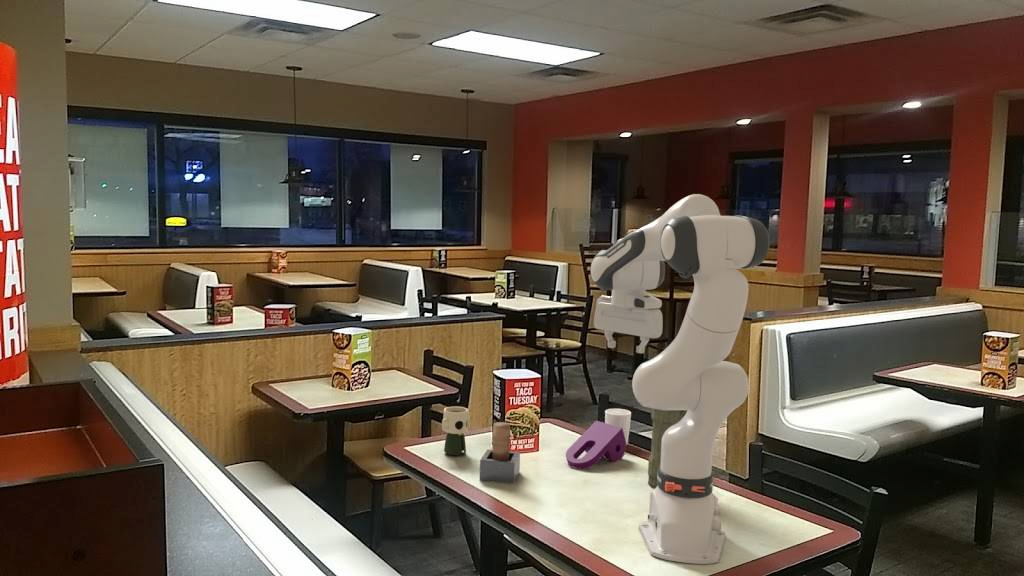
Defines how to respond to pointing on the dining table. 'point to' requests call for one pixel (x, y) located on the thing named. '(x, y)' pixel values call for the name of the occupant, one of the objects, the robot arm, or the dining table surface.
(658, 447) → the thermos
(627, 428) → the white cup
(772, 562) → the dining table surface
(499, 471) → the metal well
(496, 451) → the walnut post
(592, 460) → the mounting bracket
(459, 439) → the character mug
